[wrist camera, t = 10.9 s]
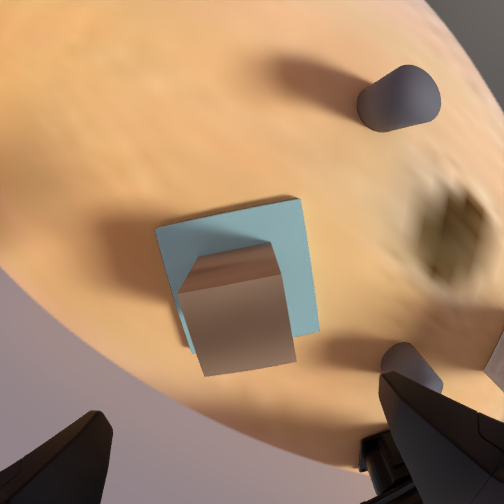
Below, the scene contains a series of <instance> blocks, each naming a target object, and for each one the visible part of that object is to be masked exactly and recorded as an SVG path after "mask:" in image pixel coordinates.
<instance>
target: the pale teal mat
mask: <svg viewBox="0 0 504 504" xmlns="http://www.w3.org/2000/svg"><path fill="white" fill-rule="evenodd" d="M155 232H156V236H157V240H158V244H159V248H160V252H161V255H162V259H163V263H164V266H165V270H166V273H167V277H168V280H169V284H170V287H171V290H172V294H173V297H174V300H175V304H176V307H177V310H178V313H179V316H180V320H181V323H182V326H183V329H184V332H185V335H186V338H187V341H188V344H189V347H190V349H191V352H192V354H194V353H196V351H195V349H194V346H193V343H192V340H191V337H190V334H189V331H188V328H187V325H186V322H185V318H184V315H183V312H182V309H181V306H180V302H179V299H178V296H177V293H178V291H179V289H180V288H181V286H182V284H183V282H184V281H185V279H186V277H187V275H188V274H189V272H190V270H191V268H192V267H193V265H194V263H195V261H196V260H197V258H198V257H199V256H204V255H209V254H214V253H219V252H223V251H228V250H233V249H238V248H243V247H248V246H253V245H258V244H263V243H268V242H271V244H272V247H273V250H274V253H275V256H276V259H277V262H278V265H279V268H280V271H281V274H282V280H283V285H284V291H285V297H286V302H287V308H288V314H289V320H290V325H291V331H292V337H296V336H301V335H306V334H310V333H315V332H319V331H320V329H319V321H318V312H317V304H316V297H315V289H314V282H313V275H312V268H311V261H310V254H309V247H308V241H307V235H306V228H305V222H304V216H303V210H302V205H301V199H299V198H297V199H292V200H286V201H281V202H276V203H271V204H265V205H260V206H255V207H250V208H245V209H240V210H235V211H230V212H225V213H221V214H216V215H211V216H207V217H202V218H197V219H193V220H188V221H184V222H179V223H175V224H170V225H166V226H162V227H158V228H156V229H155Z"/></svg>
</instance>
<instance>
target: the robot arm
mask: <svg viewBox="0 0 504 504" xmlns="http://www.w3.org/2000/svg"><path fill="white" fill-rule="evenodd" d="M378 394H379V399H380V402H381V405H382V408H383V411H384V414H385V417H386V419H387V422H388V425H389V428H390V430H389V431H387V432H384V433H381V434H377V435H374V436H371V437H368V438H365V439H363V440H362V441H361V446H360V458H359V468H358V469H359V472H365V471H368V472H369V475H370V477H371V480H372V483H373V486H374V489H375V492H376V494H377V496H376V497H374V498H372V499H370V500H368V501H364V502H362V503H360V504H504V423H503V422H501V421H498V420H496V419H493V418H491V417H489V416H486V415H484V414H482V413H480V412H479V413H478V412H477V411H475V410H473V409H471V408H469V407H467V406H465V405H463V404H461V403H458V402H456V401H454V400H452V399H450V398H448V397H446V396H444V395H442V394H440V393H438V392H436V391H434V390H432V389H430V388H428V387H426V386H424V385H422V384H420V383H418V382H416V381H414V380H412V379H410V378H408V377H406V376H404V375H402V374H400V373H398V372H396V371H394V370H390V371H387V372H384V373H381V374H380V377H379V392H378ZM112 437H113V429H112V427H111V425H110V423H109V422H108V420H107V419H106V417H105V415H104V414H103V413H102V412H101V411H94V410H92V411H89V412H88V413H86V414H85V415H83V416H82V417H81V418H79V419H78V420H76V421H75V422H74V423H72V424H71V425H69V426H68V427H67V428H65V429H64V430H62V431H61V432H59V433H58V434H56V435H55V436H54V437H52V438H51V439H49V440H48V441H46V442H45V443H43V444H42V445H41V446H39V447H38V448H36V449H35V450H33V451H32V452H30V453H29V454H27V455H26V456H24V457H23V459H20V460H18V461H17V462H16V463H14V464H12V465H11V466H9V467H8V468H6V469H4V470H2V471H1V472H0V504H100V503H101V498H102V493H103V489H104V485H105V479H106V476H107V471H108V466H109V459H110V451H111V444H112Z"/></svg>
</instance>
